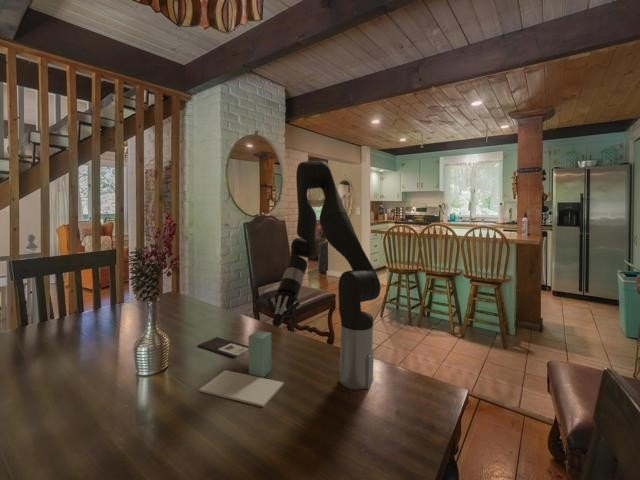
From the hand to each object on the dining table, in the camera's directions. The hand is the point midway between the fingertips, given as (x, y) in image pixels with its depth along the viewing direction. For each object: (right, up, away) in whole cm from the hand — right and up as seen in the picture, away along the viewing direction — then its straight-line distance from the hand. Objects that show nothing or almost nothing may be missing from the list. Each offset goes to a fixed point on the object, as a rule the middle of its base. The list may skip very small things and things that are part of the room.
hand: (275, 326), depth 110 cm
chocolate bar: (-20, -11, +9) cm, 24 cm away
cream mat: (-7, -13, -18) cm, 23 cm away
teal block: (-4, -12, -9) cm, 15 cm away
